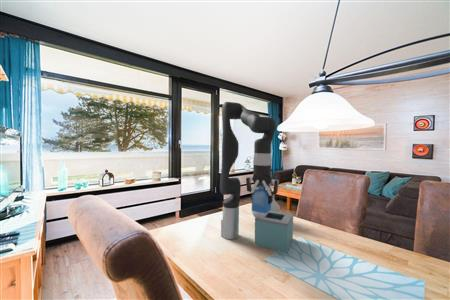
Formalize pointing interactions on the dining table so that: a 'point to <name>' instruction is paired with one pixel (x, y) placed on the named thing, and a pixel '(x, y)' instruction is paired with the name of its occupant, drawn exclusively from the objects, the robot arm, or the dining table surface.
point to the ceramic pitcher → (274, 207)
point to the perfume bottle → (260, 200)
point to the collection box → (274, 230)
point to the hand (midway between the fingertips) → (261, 202)
